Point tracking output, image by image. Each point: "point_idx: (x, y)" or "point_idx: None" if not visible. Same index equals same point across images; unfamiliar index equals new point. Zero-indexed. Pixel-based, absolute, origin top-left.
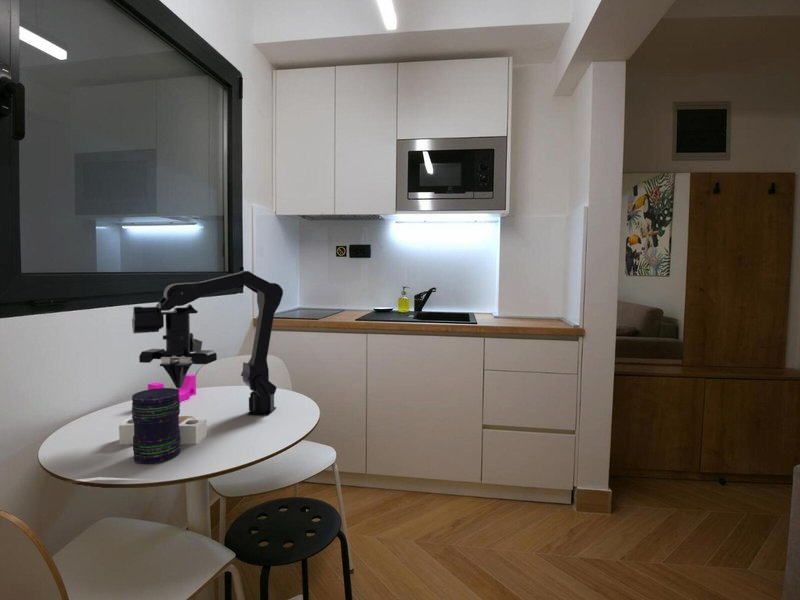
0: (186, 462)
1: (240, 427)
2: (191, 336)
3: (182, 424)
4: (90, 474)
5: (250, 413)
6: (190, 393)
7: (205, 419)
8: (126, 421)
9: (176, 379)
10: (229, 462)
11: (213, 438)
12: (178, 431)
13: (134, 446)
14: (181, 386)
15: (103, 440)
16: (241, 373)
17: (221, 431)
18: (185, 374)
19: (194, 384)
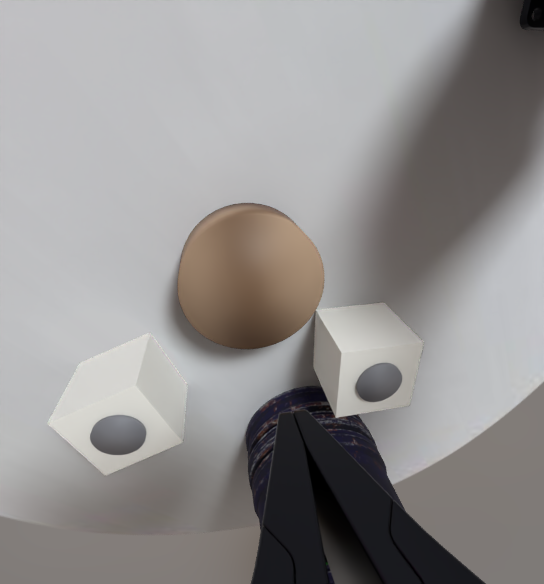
0: (394, 435)
1: (481, 179)
2: None
3: (352, 406)
4: (216, 520)
5: (540, 28)
6: None
7: (420, 344)
8: (86, 441)
9: (324, 546)
10: (490, 411)
11: (408, 302)
12: (385, 471)
13: None
14: (309, 418)
15: (21, 402)
16: None
17: (416, 237)
18: (402, 523)
19: None
